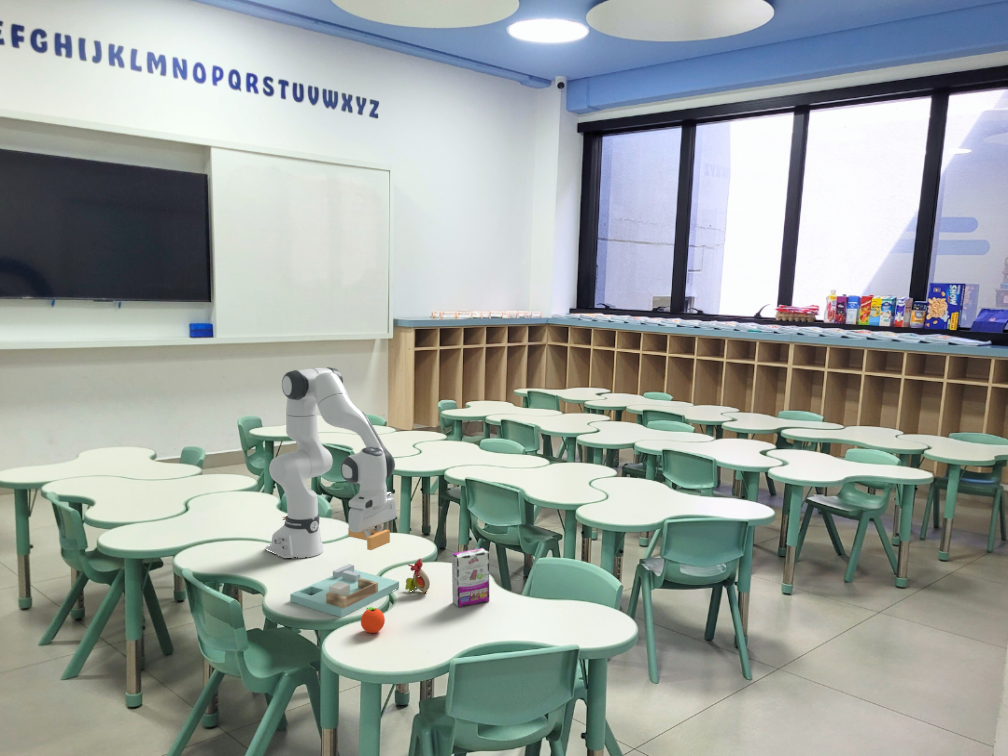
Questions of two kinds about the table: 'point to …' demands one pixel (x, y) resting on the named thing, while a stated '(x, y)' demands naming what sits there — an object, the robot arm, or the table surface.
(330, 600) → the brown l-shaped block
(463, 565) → the candy bar box
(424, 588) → the bird rattle
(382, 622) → the clementine
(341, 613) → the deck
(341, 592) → the cube
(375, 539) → the rake
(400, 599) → the table surface
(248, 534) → the table surface
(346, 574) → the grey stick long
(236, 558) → the table surface
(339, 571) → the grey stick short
